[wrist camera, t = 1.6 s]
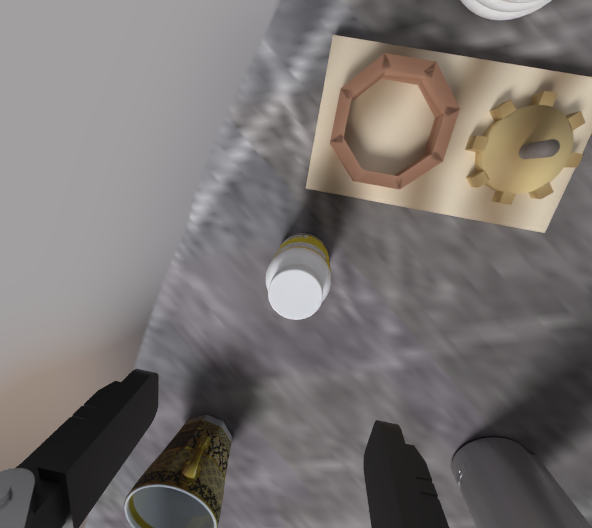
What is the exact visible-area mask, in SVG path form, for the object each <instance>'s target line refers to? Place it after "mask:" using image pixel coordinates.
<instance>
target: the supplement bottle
mask: <svg viewBox="0 0 592 528" xmlns="http://www.w3.org/2000/svg"><path fill="white" fill-rule="evenodd" d="M266 286H267V289H268V297H269V301H270V303H271V305H272V307H273V309H274V310H275V311H276V312H277V313H279V314H280V315H282V316H283V317H286V318H289V319H297V320H299V319H304V318H307V317H309V316H311V315H313V314H314V313H315V312H316V311H317V310H318V309H319V307H320V305H321V303H322V301H323V300H324V299H325V298H326V296H327V294H328V292H329V290H330V286H331V271H330V262H329V255H328V251H327V249H326V247H325V245H324V244H323V242H322V241H321V240H319V239H318V238H317V237H315V236H313V235H310V234H305V233H300V234H295V235H292V236H290V237H288V238H287V239H286V240H285V241H284V242H283V243H282V244H281V246H280V247H279V249H278V251H277V253H276V254H275V256H274V258H273V260H272V261H271V263H270V265H269V267H268V269H267V273H266Z"/></svg>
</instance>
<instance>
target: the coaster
mask: <svg viewBox="0 0 592 528" xmlns="http://www.w3.org/2000/svg"><path fill="white" fill-rule="evenodd" d="M460 1H461V2H462V3H463V4H464V5H465V6H466V7H467V8H468V9H469V10H470V11H472V12H473V13H475V14H476V15H478V16H481V17H483V18H486V19H490V20H510V19H514V18H519V17H522V16H524V15H527V14H530V13H532V12H534V11H536V10H538V9H540V8H541V7H543V6H544V5H546V4H547V3H549V2H550V1H551V0H460Z"/></svg>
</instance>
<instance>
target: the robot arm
mask: <svg viewBox="0 0 592 528" xmlns="http://www.w3.org/2000/svg"><path fill="white" fill-rule="evenodd" d="M157 409H158V374H157V373H154V372H149V371H144V370H140V369H135V370H133V371H132V372H131V373H130V374H129V375H128V376H127V377H126V378H125V379H124V380H123V381H122V382H118V381H115V382H113V383H111V384H109V385H107V386H105V387H104V388H102V389H100V390H98V391H97V392H96V393H95V394H94V395H93V396H92V397H91V398H90V399H89V400H88V401H87V402H86V403H85V404H84V406H81V407H80V408H79V409H78V410H77V411H76V412H75V413H74V414H73V416H72V417H70V418H69V419H68V420H67V421H66V422H64V424H62V425H61V426H60V427H59V428H58V429H57V430H56V431H55V432H54V433H53V434H52V435H51V436H50V437H49V438H48V439H46V440H45V441H44V442H43V443H42V444H41V445H40V446H39V447H38V448H37V449H36V450H35V451H34V452H33V453H32V454H31V455H30V456H29V457H28V458H26V459H25V460H24V461H23V462H22V463H21V464H20V465H19V466H17V467H16V468H14V469H8V470H4V471H1V472H0V528H79V526H80V525H81V524H82V522H83V521H84V519H85V518H86V516H87V515H88V514H89V512H90V511H91V509H92V508H93V506H94V505H95V504H96V502H97V501H98V499H99V498H100V496H101V495H102V494H103V492H104V491H105V489H106V488H107V486H108V485H109V484H110V482H111V481H112V479H113V478H114V476H115V475H116V473H117V472H118V471H119V469H120V468H121V466H122V465H123V463H124V462H125V461H126V459H127V458H128V456H129V455H130V453H131V452H132V451H133V449H134V448H135V446H136V445H137V443H138V442H139V441H140V439H141V438H142V436H143V435H144V433H145V432H146V431H147V429H148V428H149V426H150V425H151V423H152V421H153V420H154V417H155V415H156V412H157ZM452 472H453V475H454V477H455V479H456V482H457V484H458V486H459V488H460V491H461V493H462V495H463V498H464V500H465V502H466V504H467V507H468V509H469V512H470V514H471V516H472V518H473V521H474V523H475V525H476V528H592V527H591V525H590V524H589V523H588V522H587V520H586V519H585V518H584V516H583V515H582V514H581V512H580V511H579V510H578V509H577V507H576V506H575V505H574V503H573V502H572V501H571V499H570V498H569V497H568V496H567V494H566V493H565V492H564V490H563V489H562V488H561V486H560V485H559V484H558V483H557V481H556V480H555V479H554V477H553V476H552V475H551V473H550V472H549V471H548V470H547V468H546V467H545V466H544V464H543V463H542V462H541V460H540V459H539V458H538V457H537V455H533V454H530V453H528V452H527V451H526V450H525V449H524V448H523V447H522V446H521V445H520V444H518V443H517V442H514V441H512V440H509V439H505V438H497V437H490V438H482V439H478V440H475V441H472V442H470V443H468V444H466V445H465V446H463V447H462V448H461V449H460V450H459V451H458V452H457V453H456V454H455V456H454V457H453V460H452ZM364 475H365V483H366V490H367V497H368V504H369V512H370V519H371V526H372V528H449V526H448V523H447V520H446V517H445V515H444V512H443V509H442V506H441V504H440V501H439V500H438V498H437V496H438V495H437V492H436V490H435V487H434V484H432V479H431V476H430V473H429V470H428V467H427V465H426V462H425V461H424V459H423V458H422V456H421V455H420V453H419V452H418V451H417V449H416V448H415V446H414V445H409V444H405V441H404V437H403V434H402V431H401V428H400V426H399V425H397V424H392V423H387V422H383V421H378V420H377V421H375V423H374V426H373V429H372V432H371V435H370V438H369V441H368V444H367V447H366V450H365V454H364Z"/></svg>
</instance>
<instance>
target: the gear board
mask: <svg viewBox="0 0 592 528" xmlns="http://www.w3.org/2000/svg"><path fill="white" fill-rule="evenodd" d="M591 133H592V77H587V76H581V75H575V74H569V73H563V72H557V71H551V70H545V69H539V68H533V67H526V66H520V65H514V64H508V63H502V62H496V61H490V60H484V59H478V58H472V57H466V56H459V55H453V54H447V53H441V52H435V51H429V50H423V49H417V48H411V47H405V46H398V45H392V44H386V43H380V42H374V41H368V40H362V39H356V38H350V37H344V36H337V35H333V39H332V44H331V50H330V55H329V61H328V67H327V72H326V78H325V83H324V89H323V94H322V100H321V106H320V111H319V117H318V122H317V128H316V134H315V139H314V145H313V150H312V156H311V161H310V167H309V173H308V178H307V184H306V189H311V190H317V191H322V192H327V193H333V194H338V195H343V196H349V197H354V198H360V199H365V200H370V201H376V202H381V203H386V204H392V205H397V206H403V207H408V208H413V209H419V210H424V211H429V212H435V213H440V214H446V215H451V216H456V217H462V218H467V219H473V220H478V221H483V222H489V223H494V224H499V225H505V226H510V227H516V228H521V229H526V230H532V231H537V232H542V233H545V231H546V229H547V227H548V225H549V223H550V221H551V218H552V216H553V214H554V212H555V210H556V208H557V206H558V204H559V201H560V199H561V197H562V195H563V193H564V191H565V189H566V186H567V184H568V182H569V180H570V178H571V176H572V174H573V172H574V169H575V167H578V165H579V163H580V161H581V158H582V156H583V154H582V152H583V150H584V148H585V146H586V144H587V142H588V140H589V137H590V135H591Z"/></svg>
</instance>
